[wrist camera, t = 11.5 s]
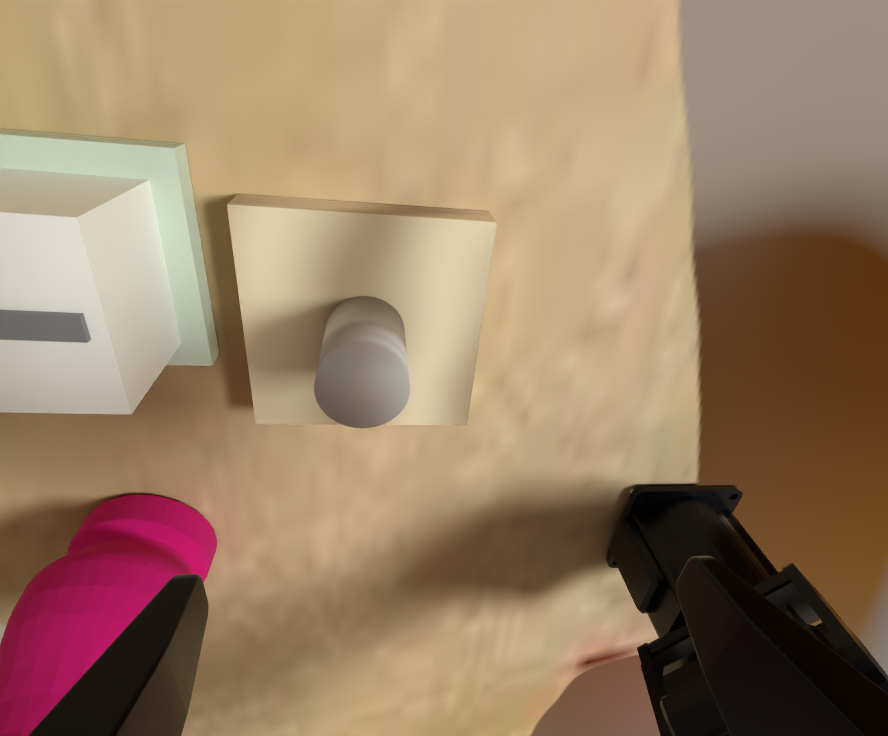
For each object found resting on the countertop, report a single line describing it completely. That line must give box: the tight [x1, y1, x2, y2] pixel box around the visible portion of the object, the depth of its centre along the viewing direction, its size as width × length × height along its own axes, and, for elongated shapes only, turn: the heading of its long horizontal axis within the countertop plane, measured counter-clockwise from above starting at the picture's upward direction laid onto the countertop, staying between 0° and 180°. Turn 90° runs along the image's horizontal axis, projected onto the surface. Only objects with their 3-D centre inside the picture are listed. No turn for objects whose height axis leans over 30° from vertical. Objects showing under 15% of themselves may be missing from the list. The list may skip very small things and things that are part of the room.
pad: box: [0, 129, 219, 366], centre depth 17 cm, size 8×8×1 cm
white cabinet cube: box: [0, 168, 181, 415], centre depth 15 cm, size 6×6×5 cm
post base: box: [227, 194, 497, 428], centre depth 18 cm, size 9×9×6 cm
